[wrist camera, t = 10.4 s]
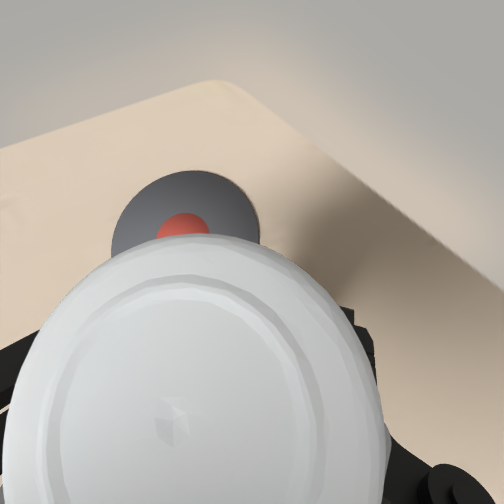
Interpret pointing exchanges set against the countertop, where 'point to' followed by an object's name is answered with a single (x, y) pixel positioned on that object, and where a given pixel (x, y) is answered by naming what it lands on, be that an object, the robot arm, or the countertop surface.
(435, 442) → the countertop surface
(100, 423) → the sprinkles bottle
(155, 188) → the coaster
